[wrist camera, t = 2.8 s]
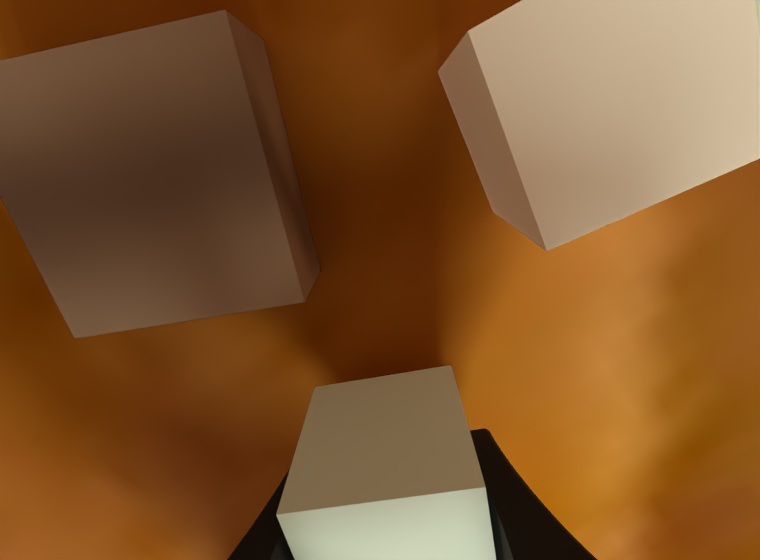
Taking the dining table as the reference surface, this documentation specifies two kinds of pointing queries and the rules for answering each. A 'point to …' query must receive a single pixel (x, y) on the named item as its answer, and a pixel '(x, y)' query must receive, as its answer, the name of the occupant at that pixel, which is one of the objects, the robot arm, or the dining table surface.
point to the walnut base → (155, 176)
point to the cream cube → (604, 106)
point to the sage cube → (387, 474)
